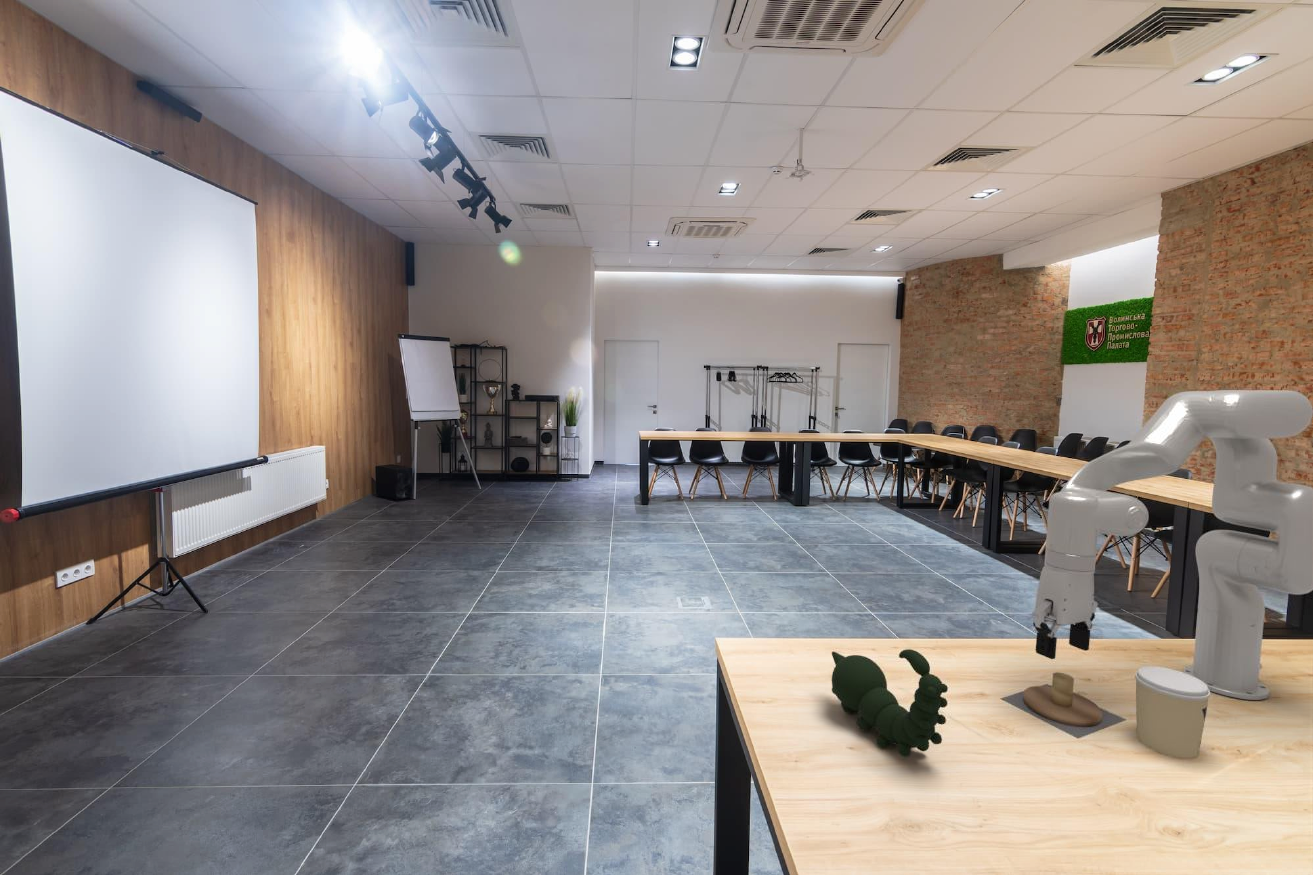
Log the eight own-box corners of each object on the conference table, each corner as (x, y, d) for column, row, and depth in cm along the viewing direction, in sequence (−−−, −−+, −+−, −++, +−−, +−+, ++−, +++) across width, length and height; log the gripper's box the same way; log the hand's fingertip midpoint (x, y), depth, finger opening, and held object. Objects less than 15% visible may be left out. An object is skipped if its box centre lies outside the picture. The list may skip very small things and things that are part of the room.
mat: (1046, 686, 117) (1047, 683, 117) (1126, 722, 105) (1126, 719, 105) (1000, 701, 112) (1000, 698, 112) (1077, 741, 99) (1077, 738, 99)
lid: (1048, 687, 116) (1050, 657, 116) (1116, 717, 105) (1119, 685, 105) (1008, 699, 111) (1010, 668, 111) (1075, 733, 100) (1078, 699, 100)
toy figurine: (951, 773, 93) (848, 686, 116) (966, 665, 90) (856, 597, 113) (906, 788, 90) (808, 695, 113) (919, 675, 87) (816, 603, 110)
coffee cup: (1220, 768, 92) (1226, 695, 91) (1152, 761, 94) (1157, 689, 93) (1180, 734, 101) (1185, 668, 100) (1118, 728, 103) (1123, 662, 102)
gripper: (1077, 551, 113) (1070, 637, 114) (1018, 559, 106) (1011, 650, 107) (1120, 561, 106) (1112, 652, 107) (1061, 571, 99) (1053, 668, 100)
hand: (1062, 651), depth 107 cm, fingers open, 9 cm apart
